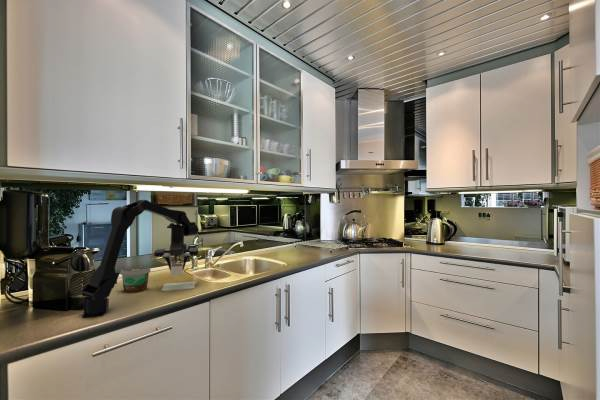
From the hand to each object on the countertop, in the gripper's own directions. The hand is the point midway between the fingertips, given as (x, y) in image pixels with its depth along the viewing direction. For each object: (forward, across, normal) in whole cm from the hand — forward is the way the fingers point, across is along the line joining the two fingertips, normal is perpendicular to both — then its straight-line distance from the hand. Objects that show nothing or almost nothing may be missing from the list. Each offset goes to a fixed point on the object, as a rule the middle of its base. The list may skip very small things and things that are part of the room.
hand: (176, 270), depth 131 cm
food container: (+9, -18, 0) cm, 20 cm away
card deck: (+2, 0, 0) cm, 2 cm away
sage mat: (+8, +1, +1) cm, 8 cm away
